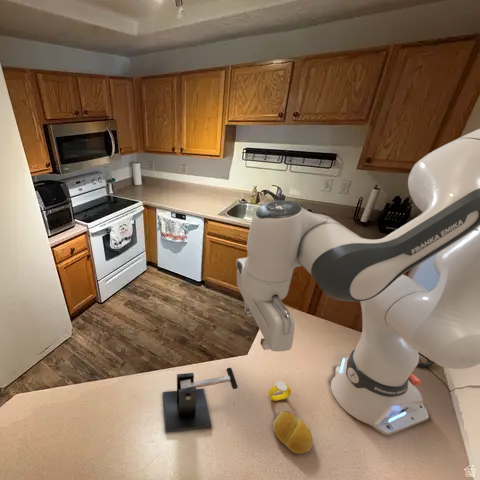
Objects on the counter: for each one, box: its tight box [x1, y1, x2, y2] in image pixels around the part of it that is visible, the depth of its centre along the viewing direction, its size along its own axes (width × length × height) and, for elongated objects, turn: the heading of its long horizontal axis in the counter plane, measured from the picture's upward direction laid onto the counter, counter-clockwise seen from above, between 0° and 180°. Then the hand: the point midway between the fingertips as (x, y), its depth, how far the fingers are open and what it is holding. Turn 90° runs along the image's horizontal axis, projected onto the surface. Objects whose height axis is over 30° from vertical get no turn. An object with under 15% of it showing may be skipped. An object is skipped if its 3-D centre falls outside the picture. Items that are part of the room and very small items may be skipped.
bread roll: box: [271, 411, 314, 454], centre depth 65 cm, size 8×9×4 cm
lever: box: [180, 367, 239, 390], centre depth 67 cm, size 14×5×2 cm, turn 94°
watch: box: [268, 380, 292, 402], centre depth 73 cm, size 6×3×6 cm, turn 97°
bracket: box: [162, 372, 212, 433], centre depth 69 cm, size 12×10×13 cm
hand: (256, 329), depth 58 cm, fingers open, 8 cm apart
